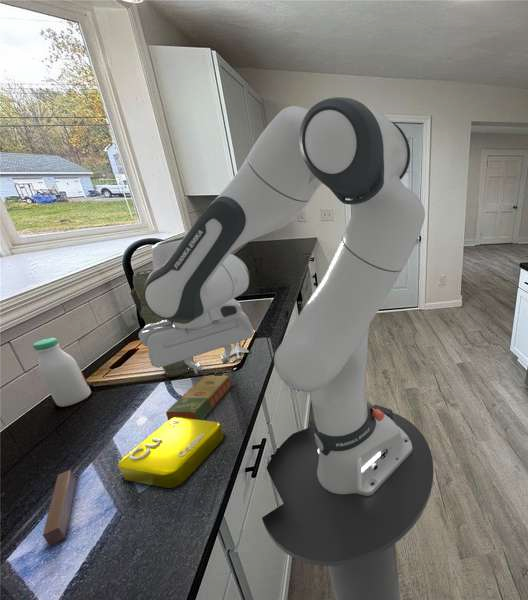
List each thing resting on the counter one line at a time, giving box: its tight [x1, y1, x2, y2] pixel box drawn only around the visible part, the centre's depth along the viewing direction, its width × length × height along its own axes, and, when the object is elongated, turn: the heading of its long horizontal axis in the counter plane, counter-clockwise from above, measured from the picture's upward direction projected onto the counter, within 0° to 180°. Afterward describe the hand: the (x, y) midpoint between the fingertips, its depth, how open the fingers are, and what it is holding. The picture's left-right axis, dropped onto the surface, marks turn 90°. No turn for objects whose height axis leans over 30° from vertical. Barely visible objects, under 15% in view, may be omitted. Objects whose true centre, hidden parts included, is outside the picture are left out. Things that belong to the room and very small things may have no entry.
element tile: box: [117, 417, 224, 489], centre depth 72 cm, size 15×15×5 cm
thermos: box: [130, 269, 195, 377], centre depth 102 cm, size 9×12×35 cm
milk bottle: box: [32, 337, 92, 407], centre depth 92 cm, size 8×8×20 cm
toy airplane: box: [229, 342, 250, 364], centre depth 116 cm, size 8×21×2 cm, turn 27°
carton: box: [165, 375, 233, 421], centre depth 89 cm, size 8×16×4 cm, turn 177°
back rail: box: [42, 469, 77, 547], centre depth 62 cm, size 2×16×3 cm, turn 39°
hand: (212, 366), depth 73 cm, fingers open, 4 cm apart
